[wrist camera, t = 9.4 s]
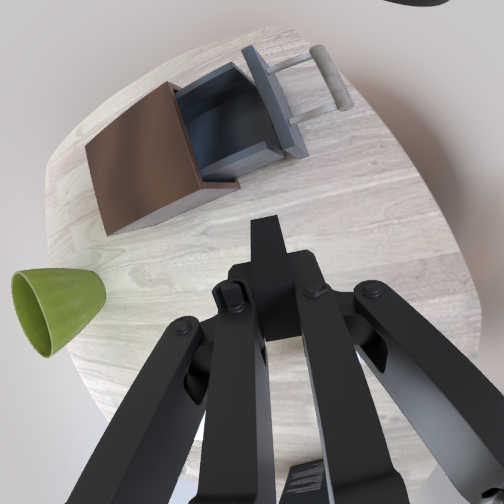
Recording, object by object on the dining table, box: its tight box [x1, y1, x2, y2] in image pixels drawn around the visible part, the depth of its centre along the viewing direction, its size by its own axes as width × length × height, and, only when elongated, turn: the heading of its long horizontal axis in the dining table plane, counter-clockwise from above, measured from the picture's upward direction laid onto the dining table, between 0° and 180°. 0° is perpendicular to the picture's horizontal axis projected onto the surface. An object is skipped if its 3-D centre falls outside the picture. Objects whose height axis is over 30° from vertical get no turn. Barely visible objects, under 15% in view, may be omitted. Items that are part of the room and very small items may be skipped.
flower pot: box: [11, 268, 106, 358], centre depth 41 cm, size 15×15×16 cm
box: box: [279, 459, 330, 504], centre depth 33 cm, size 17×7×12 cm, turn 130°
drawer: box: [175, 45, 354, 182], centre depth 27 cm, size 20×11×8 cm, turn 110°
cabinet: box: [85, 81, 241, 236], centre depth 32 cm, size 15×13×10 cm
